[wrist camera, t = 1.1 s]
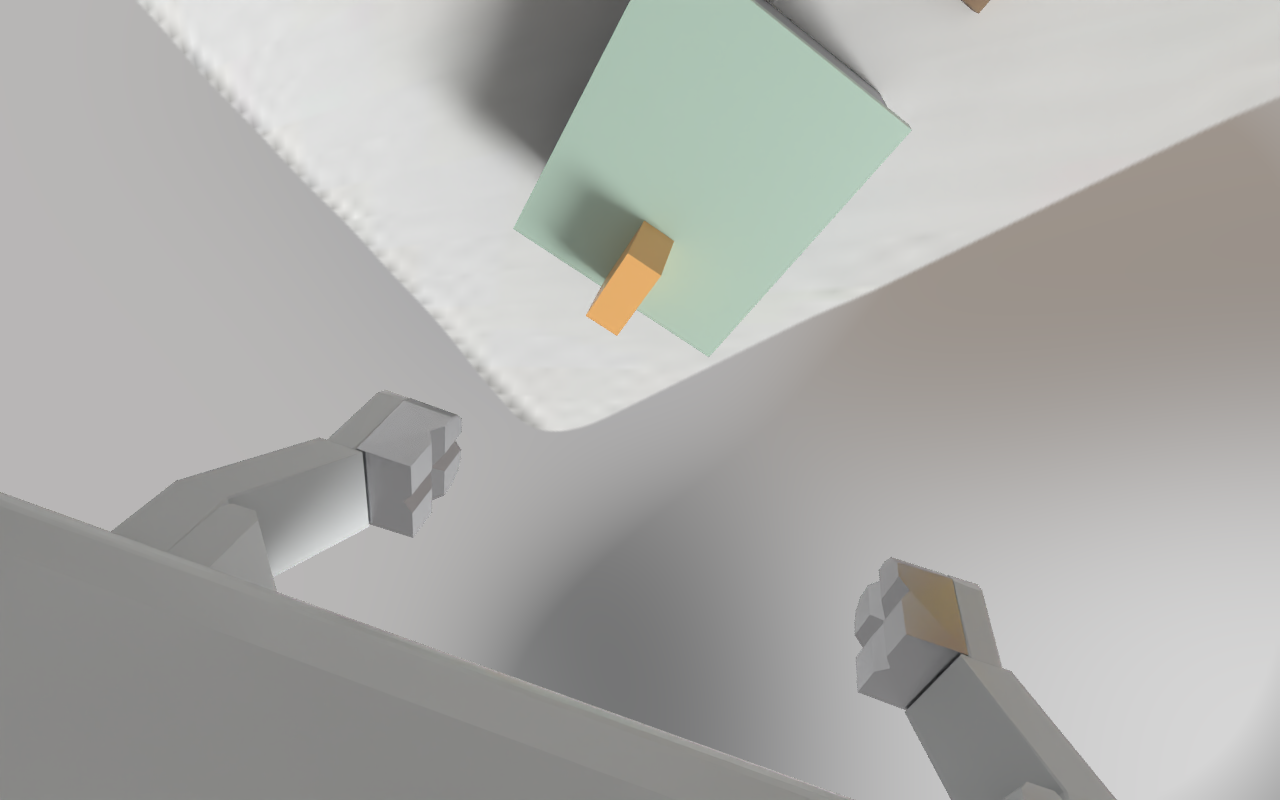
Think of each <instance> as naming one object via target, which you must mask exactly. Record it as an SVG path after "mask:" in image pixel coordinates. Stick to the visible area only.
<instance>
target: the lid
mask: <svg viewBox="0 0 1280 800" xmlns="http://www.w3.org/2000/svg"><path fill="white" fill-rule="evenodd" d="M911 131H912V129H911V128H910V126H909V125H908V124H907V123H906V122H905V121H904V120H902V119H901V118H900V117H899V116H897V115H896V114H895V113H894V112H893V111H891V110H890V109H889V108H888V107H886V106H885V105H884V104H883V103H881V102H880V101H879V100H878V99H876V98H875V97H874V96H873V95H871V94H870V93H869V92H868V91H866V90H865V89H864V88H863V87H862V86H860V85H859V84H858V83H857V82H855V81H854V80H853V79H852V78H850V77H849V76H848V75H847V74H845V73H844V72H843V71H842V70H840V69H839V68H838V67H837V66H836V65H834V64H833V63H832V62H831V61H829V60H828V59H827V58H826V57H824V56H823V55H822V54H821V53H819V52H818V51H817V50H816V49H814V48H813V47H812V46H811V45H810V44H808V43H807V42H806V41H805V40H803V39H802V38H801V37H800V36H798V35H797V34H796V33H795V32H793V31H792V30H791V29H790V28H788V27H787V26H786V25H785V24H783V23H782V22H781V21H780V20H779V19H777V18H776V17H775V16H774V15H772V14H771V13H770V12H769V11H767V10H766V9H765V8H764V7H762V6H761V5H760V4H759V3H757V2H756V1H755V0H630V2H629V4H628V6H627V7H626V9H625V11H624V13H623V15H622V17H621V19H620V21H619V23H618V25H617V27H616V29H615V31H614V33H613V35H612V37H611V39H610V41H609V43H608V45H607V47H606V49H605V51H604V52H603V54H602V56H601V58H600V60H599V62H598V64H597V66H596V68H595V70H594V72H593V74H592V76H591V78H590V80H589V82H588V84H587V86H586V88H585V90H584V92H583V94H582V95H581V97H580V99H579V101H578V103H577V105H576V107H575V109H574V111H573V113H572V115H571V117H570V119H569V121H568V123H567V125H566V127H565V129H564V131H563V133H562V135H561V137H560V138H559V140H558V142H557V144H556V146H555V148H554V150H553V152H552V154H551V156H550V158H549V160H548V162H547V164H546V166H545V168H544V170H543V172H542V174H541V176H540V178H539V180H538V181H537V183H536V185H535V187H534V189H533V191H532V193H531V195H530V197H529V199H528V201H527V203H526V205H525V207H524V209H523V211H522V213H521V215H520V217H519V219H518V221H517V223H516V224H515V226H514V228H513V229H514V230H516V231H518V232H519V233H521V234H522V235H524V236H525V237H527V238H528V239H530V240H531V241H533V242H534V243H536V244H537V245H539V246H540V247H542V248H543V249H545V250H546V251H548V252H550V253H551V254H553V255H554V256H556V257H557V258H559V259H560V260H562V261H563V262H565V263H566V264H568V265H569V266H571V267H572V268H574V269H575V270H577V271H578V272H580V273H581V274H583V275H585V276H586V277H588V278H589V279H591V280H592V281H594V282H595V283H597V284H598V285H600V286H601V288H600V290H599V292H598V294H597V296H596V297H595V299H594V301H593V303H592V305H591V307H590V309H589V311H588V312H587V314H586V316H587V317H589V318H590V319H592V320H593V321H595V322H596V323H598V324H599V325H601V326H603V327H604V328H606V329H607V330H609V331H610V332H612V333H613V334H615V335H618V334H619V332H620V331H621V330H622V328H623V327H624V326H625V324H626V323H627V322H628V320H629V319H630V317H631V316H632V315H633V313H634V312H635V311H636V310H638V311H639V312H641V313H642V314H644V315H645V316H647V317H648V318H650V319H652V320H653V321H655V322H656V323H658V324H659V325H661V326H662V327H664V328H665V329H667V330H668V331H670V332H671V333H673V334H674V335H676V336H677V337H679V338H680V339H682V340H684V341H685V342H687V343H688V344H690V345H691V346H693V347H694V348H696V349H697V350H699V351H700V352H702V353H703V354H705V355H706V356H708V357H710V355H711V354H712V353H713V352H714V351H715V350H716V349H717V348H718V346H719V345H720V344H721V343H722V342H723V341H724V340H725V339H726V338H727V336H728V335H729V334H730V333H731V332H732V331H733V330H734V329H735V327H736V326H737V325H738V324H739V323H740V322H741V321H742V320H743V319H744V317H745V316H746V315H747V314H748V313H749V312H750V311H751V310H752V308H753V307H754V306H755V305H756V304H757V303H758V302H759V301H760V299H761V298H762V297H763V296H764V295H765V294H766V293H767V292H768V291H769V289H770V288H771V287H772V286H773V285H774V284H775V283H776V282H777V280H778V279H779V278H780V277H781V276H782V275H783V274H784V273H785V272H786V270H787V269H788V268H789V267H790V266H791V265H792V264H793V263H794V261H795V260H796V259H797V258H798V257H799V256H800V255H801V254H802V253H803V251H804V250H805V249H806V248H807V247H808V246H809V245H810V244H811V242H812V241H813V240H814V239H815V238H816V237H817V236H818V235H819V233H820V232H821V231H822V230H823V229H824V228H825V227H826V226H827V225H828V223H829V222H830V221H831V220H832V219H833V218H834V217H835V216H836V214H837V213H838V212H839V211H840V210H841V209H842V208H843V207H844V206H845V204H846V203H847V202H848V201H849V200H850V199H851V198H852V197H853V195H854V194H855V193H856V192H857V191H858V190H859V189H860V188H861V187H862V185H863V184H864V183H865V182H866V181H867V180H868V179H869V178H870V176H871V175H872V174H873V173H874V172H875V171H876V170H877V169H878V167H879V166H880V165H881V164H882V163H883V162H884V161H885V160H886V159H887V157H888V156H889V155H890V154H891V153H892V152H893V151H894V150H895V148H896V147H897V146H898V145H899V144H900V143H901V142H902V141H903V140H904V138H905V137H906V136H907V135H908V134H909V133H910V132H911Z"/></svg>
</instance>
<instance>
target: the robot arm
mask: <svg viewBox="0 0 1280 800" xmlns="http://www.w3.org/2000/svg"><path fill="white" fill-rule="evenodd" d="M461 432H462V418H461V417H460V416H458V415H456V414H454V413H451V412H448V411H445V410H443V409H440V408H437V407H434V406H431V405H428V404H425V403H423V402H420V401H417V400H414V399H412V398H406V397H404V396H401V395H399V394H396V393H393V392H390V391H388V390H384V391H381V392H378V393H377V394H376V395H375V396H374V397H372V399H370V400H369V401H368V402H367V403H366V404H365V405H364V406H363V407H362V408H361V409H360V410H359V411H358V412H356V413H355V414H354V415H353V416H352V417H351V418H350V419H349V420H348V421H347V422H346V423H345V424H344V425H343V426H341V427H340V428H339V429H338V430H337V431H336V432H335V433H334V434H333V435H332V436H331V437H330V438H329V439H327V440H326V439H322V438H317V439H313V440H310V441H307V442H304V443H300V444H297V445H293V446H290V447H287V448H283V449H280V450H277V451H273V452H270V453H267V454H264V455H260V456H257V457H254V458H250V459H247V460H243V461H240V462H237V463H234V464H230V465H227V466H223V467H220V468H217V469H213V470H210V471H207V472H204V473H200V474H197V475H194V476H190V477H187V478H184V479H180V480H177V481H175V482H174V483H173V484H171V485H170V486H169V487H167V488H166V489H165V490H164V491H162V492H161V493H160V494H158V495H157V496H156V497H155V498H153V499H152V500H151V501H149V502H148V503H147V504H146V505H144V506H143V507H142V508H141V509H139V510H138V511H137V512H135V513H134V514H133V515H131V516H130V517H129V518H128V519H126V520H125V521H124V522H123V523H121V524H120V525H119V526H118V527H116V528H115V529H114V530H112V531H111V532H110V531H107V530H104V529H101V528H98V527H96V526H93V525H90V524H87V523H85V522H82V521H79V520H76V519H74V518H71V517H68V516H65V515H62V514H60V513H57V512H54V511H51V510H49V509H46V508H43V507H40V506H37V505H34V504H32V503H29V502H26V501H24V500H21V499H18V498H15V497H12V496H9V495H7V494H4V493H1V492H0V800H854V799H851V798H848V797H845V796H842V795H840V794H837V793H834V792H831V791H829V790H826V789H823V788H820V787H818V786H815V785H812V784H809V783H806V782H804V781H801V780H798V779H795V778H793V777H790V776H787V775H784V774H781V773H778V772H776V771H773V770H770V769H767V768H765V767H762V766H759V765H756V764H753V763H751V762H748V761H745V760H742V759H739V758H737V757H734V756H731V755H728V754H726V753H723V752H720V751H717V750H714V749H712V748H709V747H706V746H703V745H701V744H698V743H695V742H692V741H690V740H687V739H684V738H681V737H678V736H676V735H673V734H670V733H667V732H665V731H662V730H659V729H656V728H653V727H651V726H648V725H645V724H642V723H639V722H637V721H634V720H631V719H628V718H626V717H623V716H620V715H617V714H614V713H612V712H609V711H606V710H603V709H601V708H598V707H595V706H592V705H589V704H587V703H584V702H581V701H578V700H576V699H573V698H570V697H567V696H565V695H562V694H559V693H556V692H553V691H551V690H548V689H545V688H542V687H539V686H537V685H534V684H531V683H528V682H526V681H523V680H520V679H517V678H515V677H512V676H509V675H506V674H503V673H501V672H498V671H495V670H492V669H490V668H487V667H484V666H481V665H479V664H476V663H473V662H470V661H467V660H465V659H462V658H459V657H456V656H454V655H450V654H448V653H445V652H442V651H440V650H437V649H434V648H431V647H429V646H426V645H423V644H420V643H417V642H415V641H412V640H409V639H406V638H404V637H401V636H398V635H395V634H393V633H390V632H387V631H384V630H381V629H379V628H376V627H373V626H370V625H368V624H365V623H362V622H359V621H356V620H354V619H351V618H348V617H345V616H342V615H340V614H337V613H334V612H331V611H329V610H326V609H323V608H320V607H318V606H315V605H312V604H309V603H306V602H304V601H301V600H298V599H295V598H293V597H290V596H287V595H284V594H281V593H279V592H277V590H276V586H275V583H274V579H273V577H274V576H276V575H278V574H280V573H282V572H283V571H285V570H287V569H289V568H291V567H293V566H295V565H297V564H299V563H301V562H303V561H304V560H306V559H308V558H310V557H312V556H314V555H316V554H318V553H320V552H322V551H324V550H325V549H327V548H329V547H331V546H333V545H335V544H337V543H339V542H341V541H343V540H344V539H346V538H348V537H350V536H352V535H354V534H356V533H358V532H360V531H362V530H363V529H366V528H367V527H369V524H371V525H374V526H377V527H381V528H384V529H387V530H390V531H393V532H396V533H400V534H403V535H406V536H409V537H412V538H413V537H414V536H415V534H416V533H417V532H418V530H419V529H420V527H421V526H422V525H423V523H424V522H425V521H426V519H427V518H428V517H429V515H430V514H431V513H432V500H434V499H436V498H439V497H441V496H444V495H445V493H446V492H447V490H448V489H449V487H450V486H451V485H452V482H453V480H454V478H455V476H456V474H457V471H458V468H459V463H460V458H461V449H460V447H459V446H458V444H457V442H456V441H455V440H456V439H457V437H458V436H459V435H460V433H461ZM879 576H880V577H879V578H880V581H879V582H875V583H873V584H870V585H868V586H867V588H866V589H865V591H864V592H863V594H862V595H861V597H860V600H859V603H858V606H857V609H856V615H855V636H856V637H857V639H858V640H859V642H860V644H861V645H862V647H863V649H862V650H861V651H860V653H859V654H858V655H857V657H856V668H857V688H858V692H859V693H862V694H864V695H867V696H870V697H872V698H875V699H878V700H881V701H883V702H886V703H888V704H891V705H894V706H896V707H899V708H902V709H904V710H906V711H905V713H906V715H907V717H908V719H909V721H910V723H911V725H912V726H913V729H914V731H915V732H916V734H917V736H918V738H919V740H920V742H921V744H922V746H923V748H924V749H925V751H926V753H927V755H928V757H929V759H930V761H931V763H932V764H933V766H934V768H935V770H936V772H937V774H938V776H939V778H940V780H941V781H942V783H943V785H944V787H945V789H946V791H947V793H948V795H949V797H950V798H951V800H1116V798H1115V797H1114V796H1113V795H1112V794H1111V792H1110V791H1109V790H1108V789H1107V787H1106V786H1105V785H1104V784H1103V783H1102V781H1101V780H1100V779H1099V778H1098V777H1097V776H1096V774H1095V773H1094V772H1093V770H1092V769H1091V768H1090V767H1089V766H1088V764H1087V763H1086V762H1085V761H1084V759H1083V758H1082V757H1081V756H1080V755H1079V753H1078V752H1077V751H1076V750H1075V749H1074V747H1073V746H1072V745H1071V744H1070V742H1069V741H1068V740H1067V739H1066V738H1065V736H1064V735H1063V734H1062V733H1061V731H1060V730H1059V729H1058V728H1057V726H1056V725H1055V724H1054V723H1053V722H1052V720H1051V719H1050V718H1049V717H1048V716H1047V714H1046V713H1045V712H1044V711H1043V709H1042V708H1041V707H1040V706H1039V705H1038V703H1037V702H1036V701H1035V700H1034V698H1033V697H1032V696H1031V695H1030V694H1029V692H1028V691H1027V690H1026V689H1025V687H1024V686H1023V685H1022V684H1021V683H1020V681H1019V680H1018V679H1017V678H1016V677H1015V675H1014V674H1013V673H1012V672H1011V671H1009V670H1006V669H1004V668H1002V665H1001V661H1000V657H999V653H998V650H997V646H996V642H995V638H994V634H993V631H992V627H991V623H990V619H989V615H988V612H987V608H986V604H985V600H984V596H983V593H982V590H981V588H980V587H979V586H978V585H977V584H975V583H972V582H968V581H964V580H962V579H959V578H956V577H952V576H949V575H945V574H942V573H939V572H936V571H933V570H930V569H927V568H923V567H920V566H917V565H914V564H911V563H908V562H905V561H902V560H899V559H895V558H892V557H891V558H889V559H888V560H886V561H885V562H884V564H883V565H882V566H881V568H880V569H879Z"/></svg>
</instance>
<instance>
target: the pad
mask: <svg viewBox="0 0 1280 800" xmlns="http://www.w3.org/2000/svg"><path fill="white" fill-rule="evenodd" d="M961 1H963V2H964V3H965V4H966V5H967V6H968V7H969V8H970V9H972V10H973V11H974V12H976V13H980V11H981V10H982V9H983V8H984V7H985V6H986V4H987V3H988V2H989V1H990V0H961Z"/></svg>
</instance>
